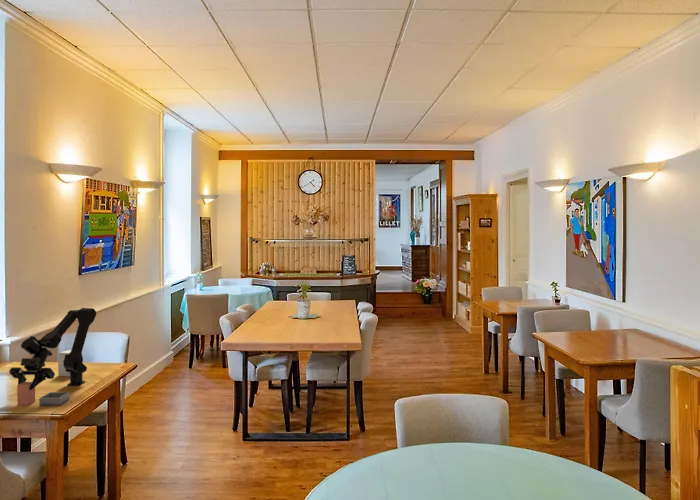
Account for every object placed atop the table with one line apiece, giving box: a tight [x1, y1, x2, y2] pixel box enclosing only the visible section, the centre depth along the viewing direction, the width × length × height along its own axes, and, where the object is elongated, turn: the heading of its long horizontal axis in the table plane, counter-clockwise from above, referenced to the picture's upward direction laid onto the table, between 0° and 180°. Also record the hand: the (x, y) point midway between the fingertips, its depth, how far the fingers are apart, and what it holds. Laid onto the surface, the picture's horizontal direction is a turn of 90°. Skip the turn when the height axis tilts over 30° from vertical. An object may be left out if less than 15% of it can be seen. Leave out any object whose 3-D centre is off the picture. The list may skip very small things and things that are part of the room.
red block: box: [16, 381, 36, 406], centre depth 241 cm, size 5×5×9 cm
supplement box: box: [57, 349, 72, 377], centre depth 289 cm, size 7×7×13 cm
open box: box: [38, 391, 70, 407], centre depth 242 cm, size 9×9×4 cm
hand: (24, 389), depth 240 cm, fingers closed on red block, 5 cm apart
